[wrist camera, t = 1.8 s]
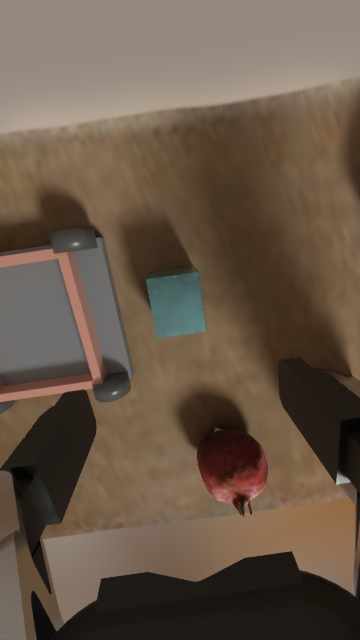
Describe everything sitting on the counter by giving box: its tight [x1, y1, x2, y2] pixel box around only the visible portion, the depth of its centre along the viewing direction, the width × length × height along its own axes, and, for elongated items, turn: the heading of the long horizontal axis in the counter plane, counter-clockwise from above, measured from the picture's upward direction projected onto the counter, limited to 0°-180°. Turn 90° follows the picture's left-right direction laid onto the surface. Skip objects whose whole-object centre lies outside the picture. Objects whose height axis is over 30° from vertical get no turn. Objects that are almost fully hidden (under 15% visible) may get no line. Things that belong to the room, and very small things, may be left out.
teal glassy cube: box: [146, 266, 206, 338], centre depth 26 cm, size 5×6×6 cm
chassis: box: [0, 227, 134, 414], centre depth 27 cm, size 20×19×4 cm
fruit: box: [197, 427, 268, 517], centre depth 31 cm, size 9×10×10 cm
